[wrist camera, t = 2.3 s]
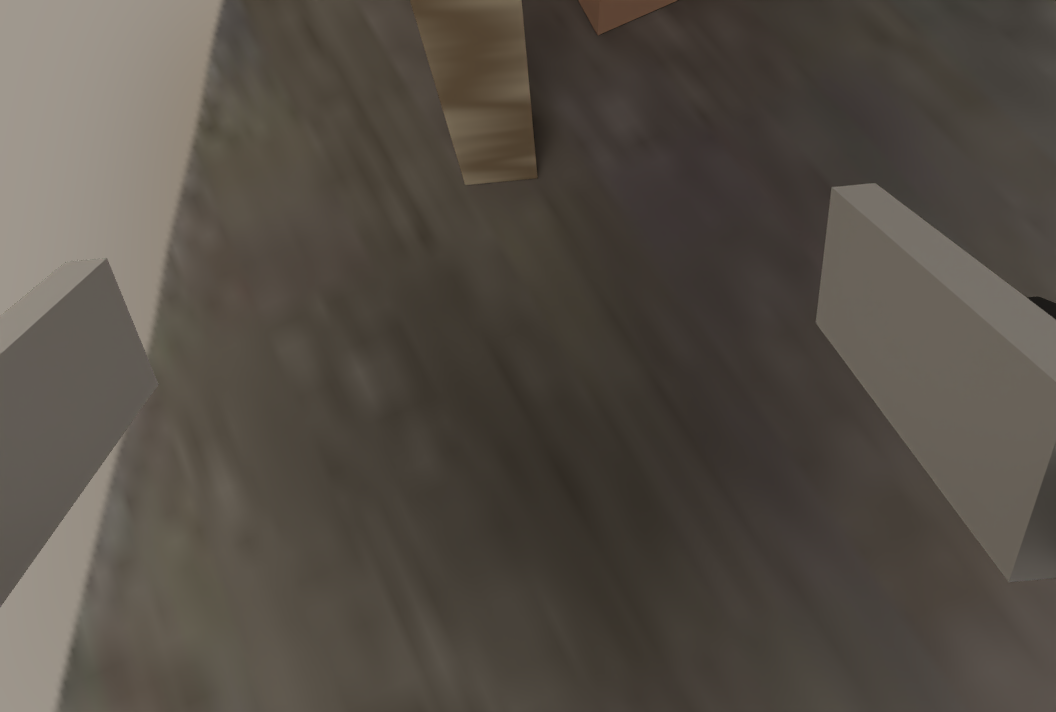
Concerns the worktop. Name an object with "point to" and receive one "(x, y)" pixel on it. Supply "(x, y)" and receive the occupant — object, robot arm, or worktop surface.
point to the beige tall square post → (482, 84)
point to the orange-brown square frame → (618, 11)
